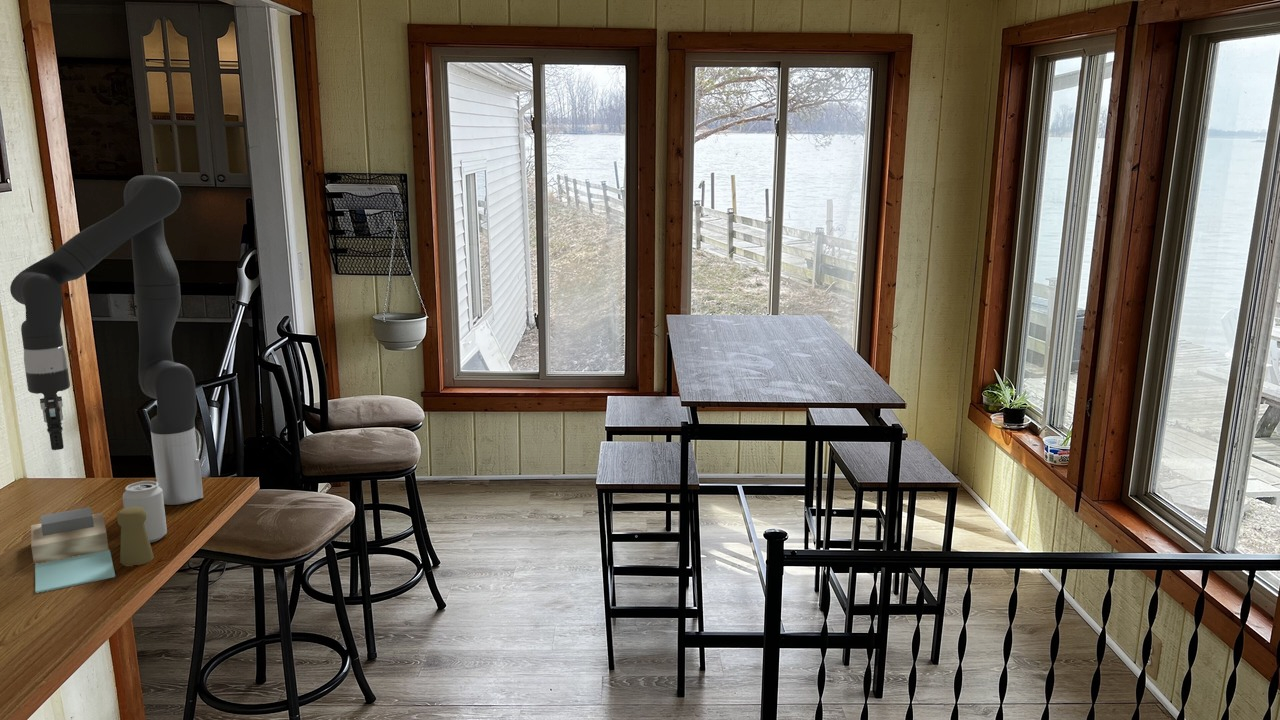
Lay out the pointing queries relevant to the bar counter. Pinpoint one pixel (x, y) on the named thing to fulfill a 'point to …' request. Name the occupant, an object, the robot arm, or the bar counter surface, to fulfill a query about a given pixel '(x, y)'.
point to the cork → (134, 537)
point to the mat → (73, 571)
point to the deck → (69, 541)
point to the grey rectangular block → (66, 521)
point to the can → (148, 506)
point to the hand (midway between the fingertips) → (57, 446)
